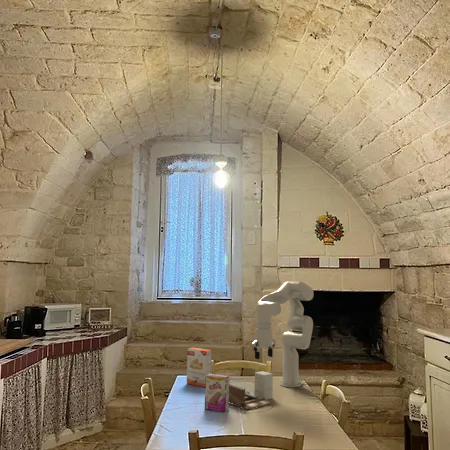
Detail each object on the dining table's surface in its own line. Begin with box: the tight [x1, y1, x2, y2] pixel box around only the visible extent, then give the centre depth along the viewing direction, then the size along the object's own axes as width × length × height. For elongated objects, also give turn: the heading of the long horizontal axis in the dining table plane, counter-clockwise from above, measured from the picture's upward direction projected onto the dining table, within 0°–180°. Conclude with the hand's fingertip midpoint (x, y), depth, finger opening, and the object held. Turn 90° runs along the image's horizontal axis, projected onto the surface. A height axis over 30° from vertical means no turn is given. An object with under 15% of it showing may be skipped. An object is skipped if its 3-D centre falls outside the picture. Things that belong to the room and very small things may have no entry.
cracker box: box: [186, 347, 212, 388], centre depth 259 cm, size 14×6×21 cm, turn 58°
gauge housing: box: [229, 383, 272, 410], centre depth 226 cm, size 16×18×9 cm
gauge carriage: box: [245, 391, 262, 401], centre depth 225 cm, size 8×16×2 cm, turn 38°
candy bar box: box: [204, 373, 230, 413], centre depth 214 cm, size 11×5×16 cm, turn 71°
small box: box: [254, 370, 274, 401], centre depth 236 cm, size 8×6×13 cm
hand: (263, 357), depth 237 cm, fingers open, 9 cm apart
